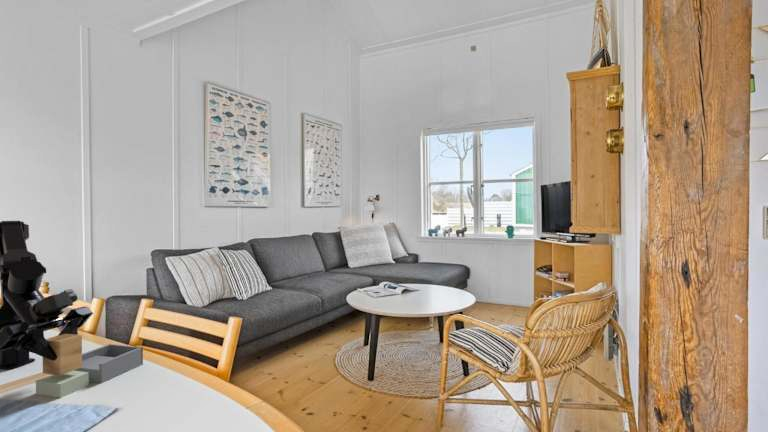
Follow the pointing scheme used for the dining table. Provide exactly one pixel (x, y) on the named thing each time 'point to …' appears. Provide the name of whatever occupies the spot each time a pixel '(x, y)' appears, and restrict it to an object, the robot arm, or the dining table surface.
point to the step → (62, 384)
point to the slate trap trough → (110, 361)
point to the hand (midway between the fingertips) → (67, 355)
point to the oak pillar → (64, 354)
